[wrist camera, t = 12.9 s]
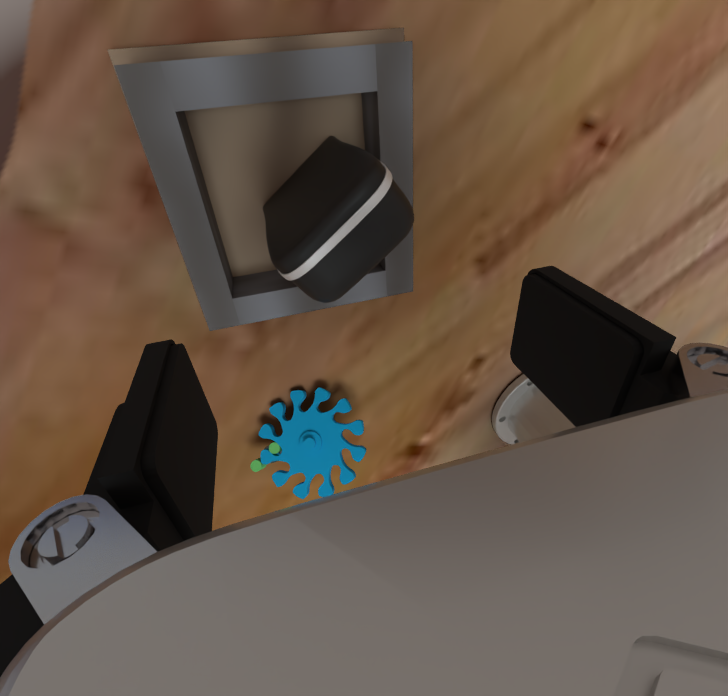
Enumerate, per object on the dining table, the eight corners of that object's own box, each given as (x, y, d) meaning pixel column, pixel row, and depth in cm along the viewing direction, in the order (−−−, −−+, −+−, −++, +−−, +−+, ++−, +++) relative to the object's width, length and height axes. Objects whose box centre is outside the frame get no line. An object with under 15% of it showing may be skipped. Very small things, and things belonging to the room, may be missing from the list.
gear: (345, 372, 35) (379, 483, 34) (355, 375, 41) (384, 469, 39) (232, 409, 36) (261, 518, 34) (257, 406, 42) (283, 500, 40)
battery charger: (299, 248, 28) (328, 327, 19) (257, 209, 26) (267, 277, 17) (370, 176, 27) (439, 225, 18) (333, 129, 24) (389, 157, 15)
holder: (397, 29, 24) (427, 19, 20) (402, 274, 33) (423, 298, 29) (113, 51, 21) (86, 44, 17) (206, 310, 30) (201, 343, 26)
